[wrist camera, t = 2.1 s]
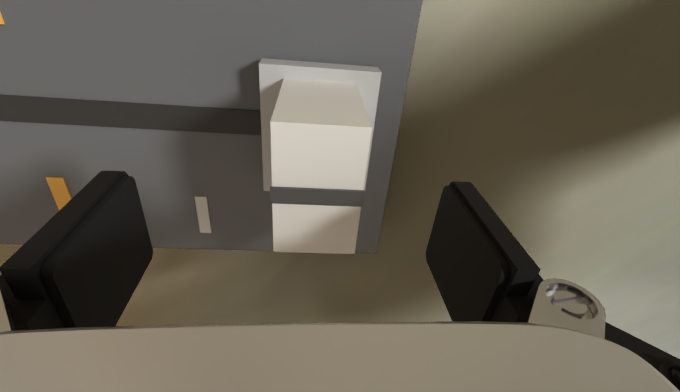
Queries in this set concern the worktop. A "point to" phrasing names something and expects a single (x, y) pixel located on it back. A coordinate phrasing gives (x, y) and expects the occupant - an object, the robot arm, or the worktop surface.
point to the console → (178, 106)
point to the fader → (316, 150)
